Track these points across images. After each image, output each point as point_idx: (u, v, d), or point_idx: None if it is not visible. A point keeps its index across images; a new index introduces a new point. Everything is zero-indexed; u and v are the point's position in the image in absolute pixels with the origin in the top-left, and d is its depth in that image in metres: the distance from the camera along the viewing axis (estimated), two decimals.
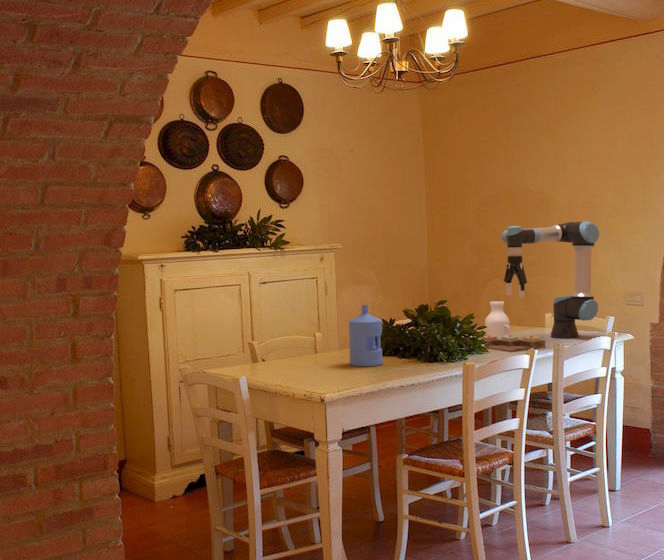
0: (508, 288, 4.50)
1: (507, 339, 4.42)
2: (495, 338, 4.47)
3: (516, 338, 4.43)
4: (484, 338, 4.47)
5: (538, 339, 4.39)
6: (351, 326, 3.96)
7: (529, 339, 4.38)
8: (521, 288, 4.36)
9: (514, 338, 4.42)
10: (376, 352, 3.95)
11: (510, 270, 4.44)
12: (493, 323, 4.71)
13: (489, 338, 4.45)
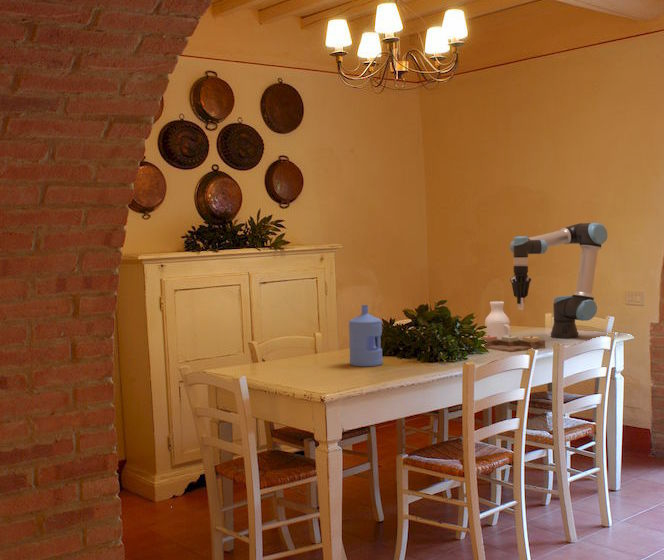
0: None
1: (507, 339, 4.42)
2: (495, 338, 4.47)
3: (516, 338, 4.43)
4: (484, 338, 4.47)
5: (538, 339, 4.39)
6: (351, 326, 3.96)
7: (529, 339, 4.38)
8: None
9: (514, 338, 4.42)
10: (376, 352, 3.95)
11: None
12: (493, 323, 4.71)
13: (489, 338, 4.45)
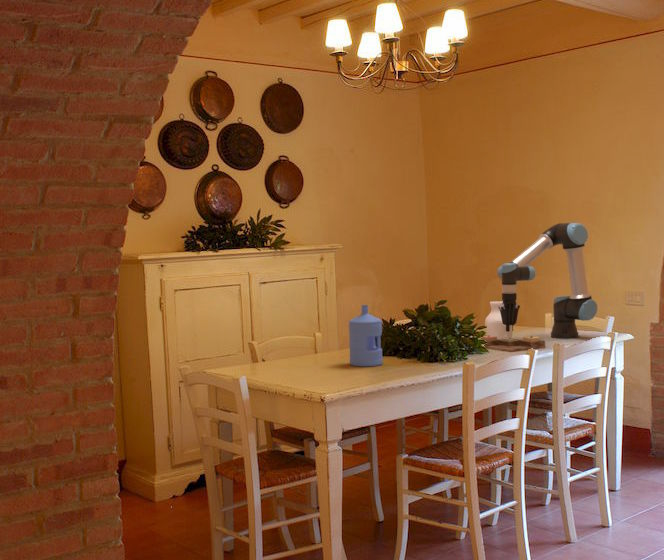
0: None
1: None
2: (495, 338, 4.47)
3: (516, 340, 4.43)
4: (484, 338, 4.47)
5: (538, 339, 4.39)
6: (351, 326, 3.96)
7: (529, 339, 4.38)
8: None
9: (514, 340, 4.42)
10: (376, 352, 3.95)
11: None
12: (493, 323, 4.71)
13: (489, 338, 4.45)
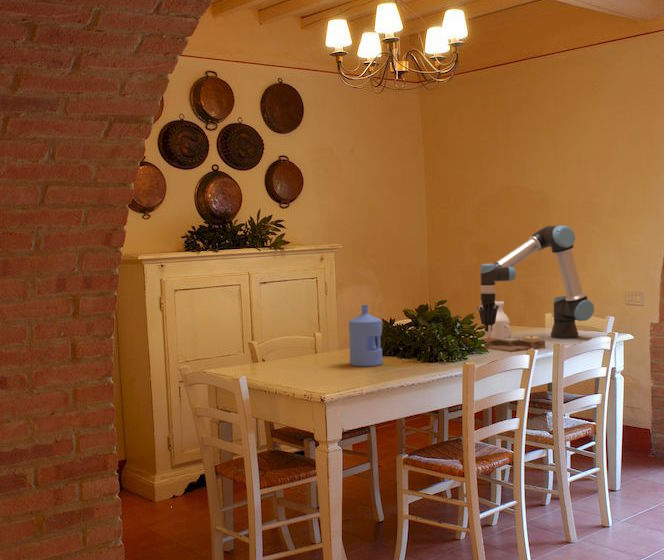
0: None
1: None
2: None
3: (516, 340, 4.43)
4: None
5: (538, 339, 4.39)
6: (351, 326, 3.96)
7: (529, 339, 4.38)
8: None
9: (514, 340, 4.42)
10: (376, 352, 3.95)
11: None
12: None
13: (489, 340, 4.45)
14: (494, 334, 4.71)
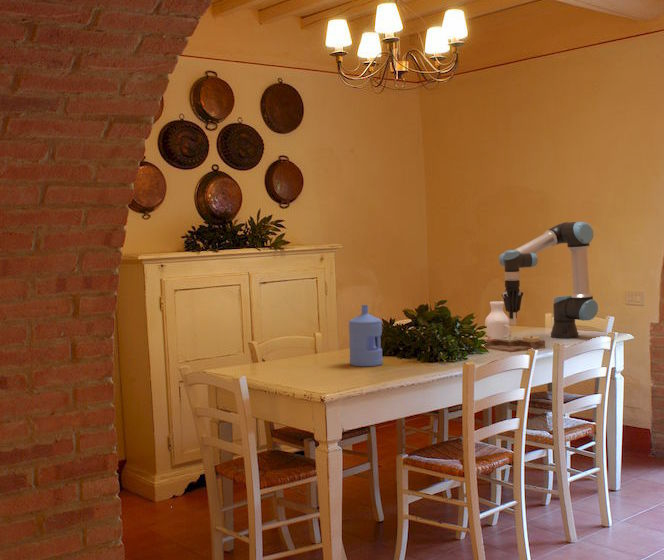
0: None
1: None
2: None
3: (516, 340, 4.43)
4: None
5: (538, 339, 4.39)
6: (351, 326, 3.96)
7: (529, 339, 4.38)
8: None
9: (514, 340, 4.42)
10: (376, 352, 3.95)
11: None
12: (493, 323, 4.71)
13: (489, 340, 4.45)
14: (494, 334, 4.71)
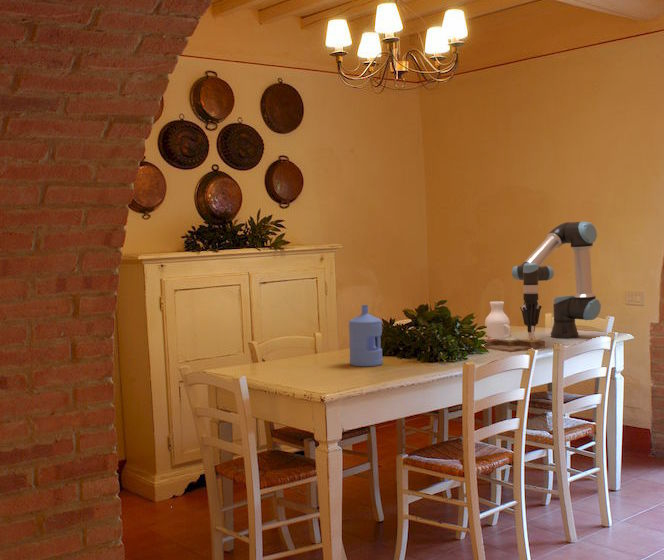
0: None
1: None
2: None
3: (516, 340, 4.43)
4: None
5: None
6: (351, 326, 3.96)
7: (529, 341, 4.38)
8: None
9: (514, 340, 4.42)
10: (376, 352, 3.95)
11: None
12: (493, 323, 4.71)
13: (489, 340, 4.45)
14: (494, 334, 4.71)
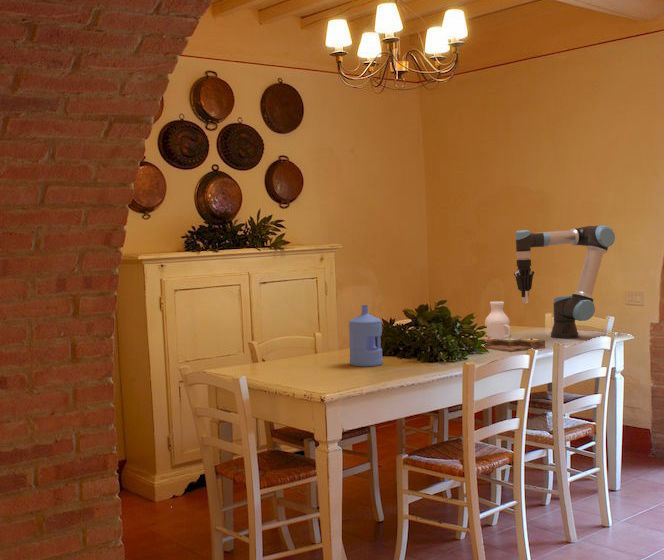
0: None
1: None
2: None
3: (516, 340, 4.43)
4: None
5: None
6: (351, 326, 3.96)
7: (529, 341, 4.38)
8: None
9: (514, 340, 4.42)
10: (376, 352, 3.95)
11: None
12: (493, 323, 4.71)
13: (489, 340, 4.45)
14: (494, 334, 4.71)
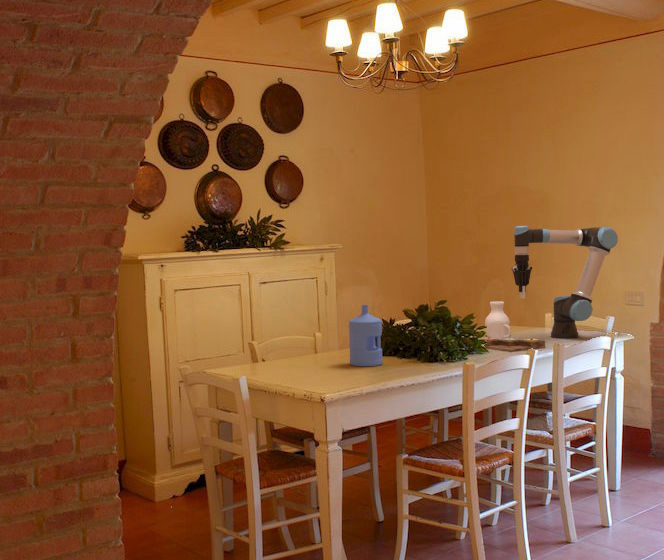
0: None
1: None
2: None
3: (516, 340, 4.43)
4: None
5: None
6: (351, 326, 3.96)
7: (529, 341, 4.38)
8: None
9: (514, 340, 4.42)
10: (376, 352, 3.95)
11: None
12: (493, 323, 4.71)
13: (489, 340, 4.45)
14: (494, 334, 4.71)
